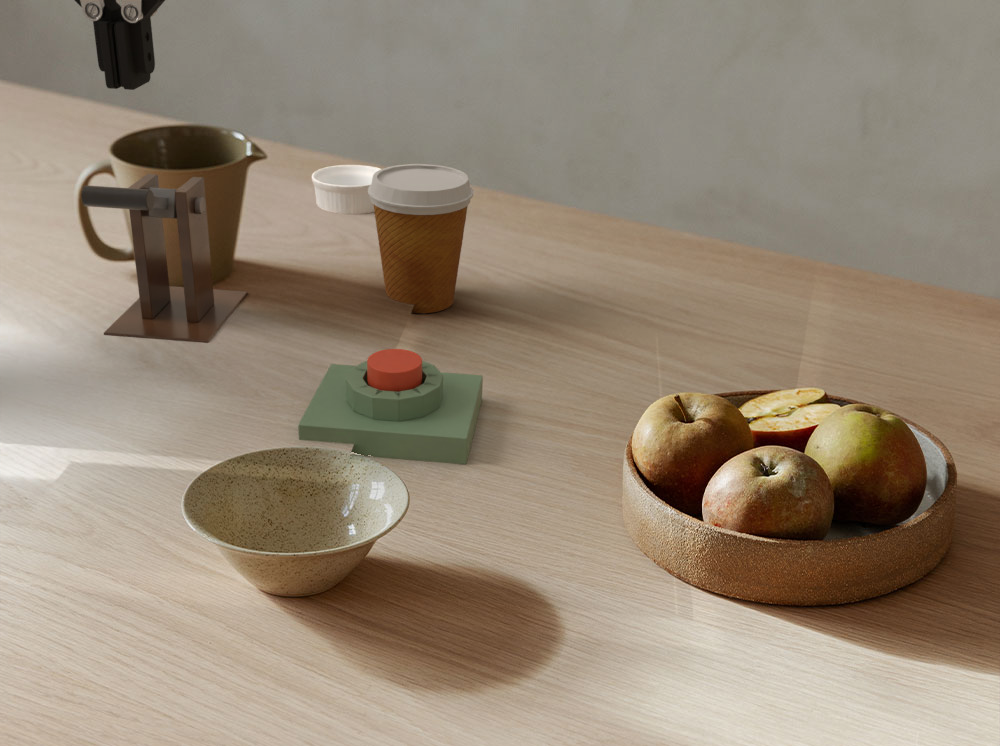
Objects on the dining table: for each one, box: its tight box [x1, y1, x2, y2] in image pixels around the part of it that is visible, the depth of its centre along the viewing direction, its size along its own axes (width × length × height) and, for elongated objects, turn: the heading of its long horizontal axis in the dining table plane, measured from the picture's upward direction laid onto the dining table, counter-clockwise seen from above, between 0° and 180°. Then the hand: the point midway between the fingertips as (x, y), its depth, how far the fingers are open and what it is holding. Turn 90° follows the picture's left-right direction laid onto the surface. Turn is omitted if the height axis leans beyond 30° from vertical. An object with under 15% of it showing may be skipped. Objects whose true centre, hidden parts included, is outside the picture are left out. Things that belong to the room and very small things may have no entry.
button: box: [366, 348, 423, 392], centre depth 81 cm, size 4×4×2 cm
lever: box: [80, 184, 178, 220], centre depth 88 cm, size 12×5×2 cm, turn 174°
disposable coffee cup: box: [368, 163, 474, 314], centre depth 102 cm, size 10×10×12 cm
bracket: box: [103, 173, 248, 344], centre depth 95 cm, size 11×9×13 cm
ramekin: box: [311, 164, 382, 215], centre depth 126 cm, size 9×9×4 cm
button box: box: [297, 360, 484, 465], centre depth 82 cm, size 12×10×4 cm
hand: (129, 84), depth 69 cm, fingers closed
